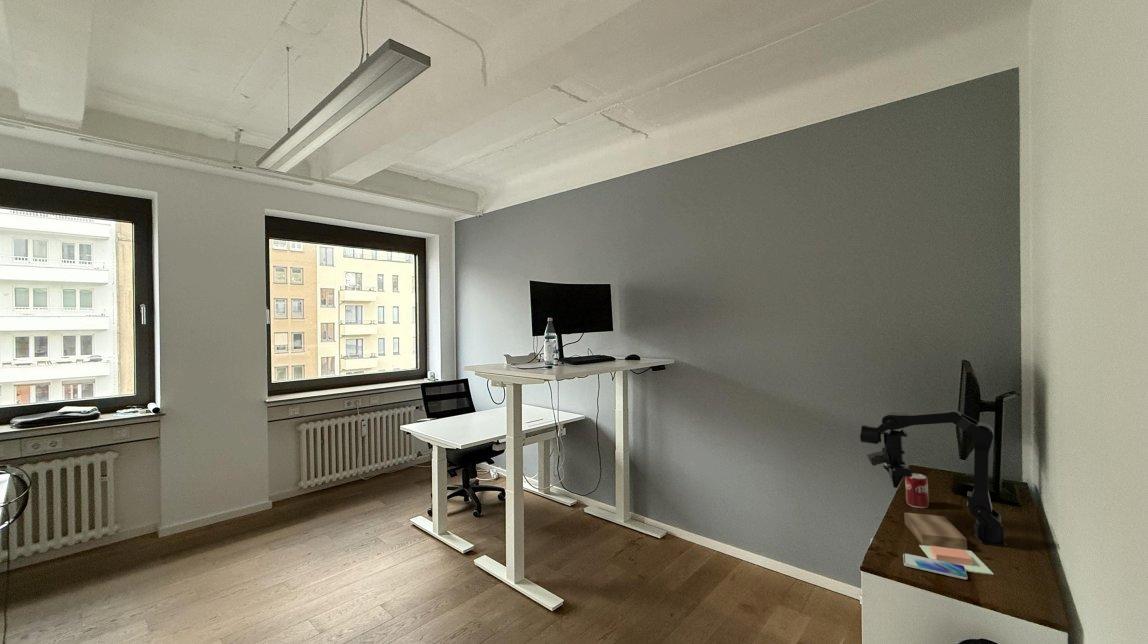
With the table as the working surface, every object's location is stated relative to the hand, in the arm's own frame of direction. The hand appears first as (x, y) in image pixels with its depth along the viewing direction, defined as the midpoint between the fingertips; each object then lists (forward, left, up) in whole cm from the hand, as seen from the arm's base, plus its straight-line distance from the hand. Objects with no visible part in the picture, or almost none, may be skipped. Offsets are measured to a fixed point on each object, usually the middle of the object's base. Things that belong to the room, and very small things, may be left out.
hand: (895, 487), depth 169 cm
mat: (-8, +27, -12) cm, 31 cm away
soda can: (-12, -18, -13) cm, 25 cm away
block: (-7, +27, -10) cm, 30 cm away
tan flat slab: (-8, +11, -12) cm, 18 cm away
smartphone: (0, +35, -12) cm, 37 cm away
